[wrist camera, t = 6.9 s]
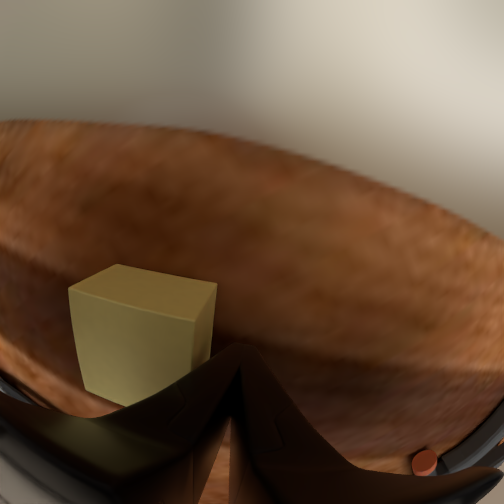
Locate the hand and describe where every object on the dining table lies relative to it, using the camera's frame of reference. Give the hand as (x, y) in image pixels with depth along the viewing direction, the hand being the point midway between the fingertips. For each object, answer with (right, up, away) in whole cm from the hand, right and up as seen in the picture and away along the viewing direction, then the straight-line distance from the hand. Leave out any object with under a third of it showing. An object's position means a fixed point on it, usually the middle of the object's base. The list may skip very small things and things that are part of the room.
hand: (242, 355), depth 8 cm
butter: (-3, +1, +1) cm, 3 cm away
